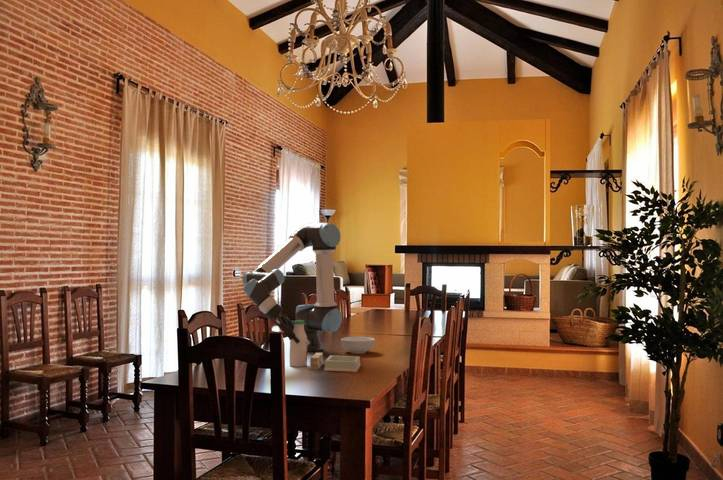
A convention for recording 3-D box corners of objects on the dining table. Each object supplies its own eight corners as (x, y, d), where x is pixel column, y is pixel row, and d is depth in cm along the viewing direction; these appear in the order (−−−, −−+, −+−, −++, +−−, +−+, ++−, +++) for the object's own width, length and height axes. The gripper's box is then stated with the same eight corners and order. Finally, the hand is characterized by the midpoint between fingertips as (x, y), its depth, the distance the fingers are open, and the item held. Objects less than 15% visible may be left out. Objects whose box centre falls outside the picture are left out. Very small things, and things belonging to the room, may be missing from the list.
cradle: (329, 364, 269) (329, 355, 269) (360, 365, 268) (360, 356, 268) (324, 370, 255) (324, 360, 255) (356, 371, 254) (356, 362, 254)
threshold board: (316, 363, 270) (316, 352, 270) (322, 363, 270) (323, 352, 270) (310, 369, 256) (310, 358, 256) (317, 370, 256) (317, 358, 256)
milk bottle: (304, 367, 260) (304, 321, 261) (287, 366, 262) (287, 320, 262) (309, 364, 268) (309, 319, 268) (292, 363, 269) (293, 319, 270)
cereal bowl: (375, 350, 309) (376, 336, 309) (373, 356, 292) (373, 341, 292) (343, 349, 310) (343, 335, 310) (338, 354, 294) (338, 340, 294)
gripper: (271, 312, 277) (304, 348, 275) (258, 317, 257) (295, 356, 255) (282, 301, 276) (316, 337, 274) (271, 305, 256) (307, 344, 254)
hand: (306, 346), depth 265 cm, fingers closed on milk bottle, 7 cm apart
